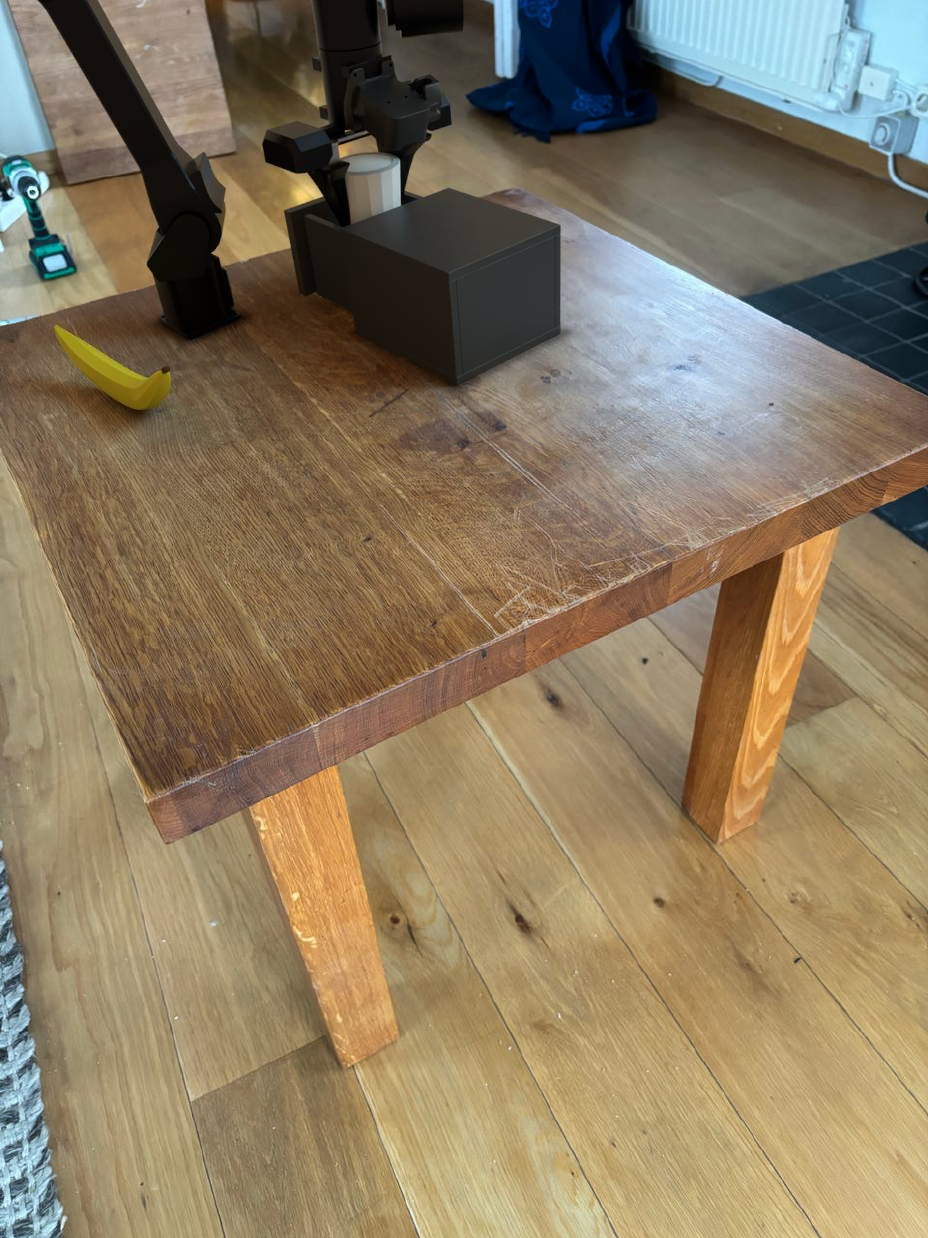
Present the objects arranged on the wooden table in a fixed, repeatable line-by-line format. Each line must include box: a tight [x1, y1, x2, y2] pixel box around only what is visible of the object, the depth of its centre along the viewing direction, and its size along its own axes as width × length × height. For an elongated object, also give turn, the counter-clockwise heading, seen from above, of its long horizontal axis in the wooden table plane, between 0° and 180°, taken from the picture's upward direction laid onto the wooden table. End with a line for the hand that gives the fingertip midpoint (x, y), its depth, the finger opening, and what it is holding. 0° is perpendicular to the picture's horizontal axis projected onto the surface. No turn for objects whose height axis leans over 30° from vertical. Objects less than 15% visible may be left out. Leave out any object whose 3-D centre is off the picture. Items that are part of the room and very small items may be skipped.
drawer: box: [283, 190, 424, 313], centre depth 100 cm, size 19×12×9 cm, turn 42°
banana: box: [53, 324, 172, 411], centre depth 89 cm, size 3×19×6 cm, turn 48°
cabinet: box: [340, 187, 562, 386], centre depth 93 cm, size 16×14×11 cm
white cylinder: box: [340, 151, 401, 224], centre depth 96 cm, size 7×7×7 cm
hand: (371, 219), depth 98 cm, fingers closed on white cylinder, 6 cm apart
